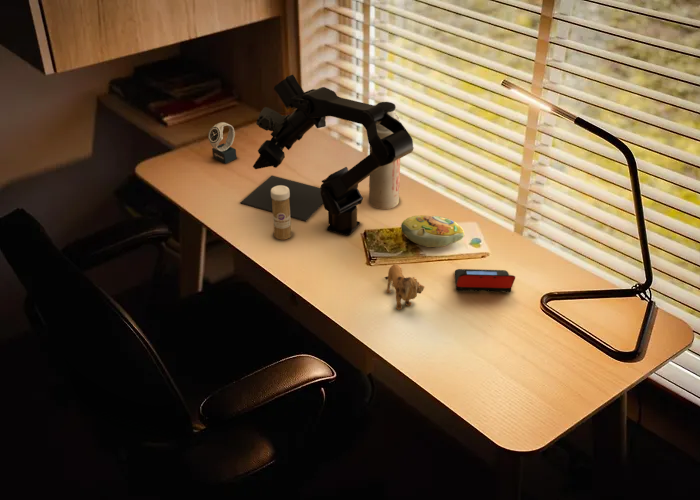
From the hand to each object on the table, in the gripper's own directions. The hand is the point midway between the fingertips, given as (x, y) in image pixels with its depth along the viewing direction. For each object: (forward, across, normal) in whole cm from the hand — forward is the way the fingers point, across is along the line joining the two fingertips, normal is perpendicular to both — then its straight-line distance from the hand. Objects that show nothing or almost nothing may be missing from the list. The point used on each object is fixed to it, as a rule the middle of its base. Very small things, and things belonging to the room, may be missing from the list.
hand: (259, 159), depth 204 cm
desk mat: (+6, -4, +13) cm, 15 cm away
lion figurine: (-20, +32, +40) cm, 55 cm away
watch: (+23, -21, -4) cm, 32 cm away
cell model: (-22, +7, +43) cm, 49 cm away
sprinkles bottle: (+3, +14, +16) cm, 21 cm away
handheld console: (-32, +24, +53) cm, 67 cm away
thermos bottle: (-12, -8, +32) cm, 35 cm away
